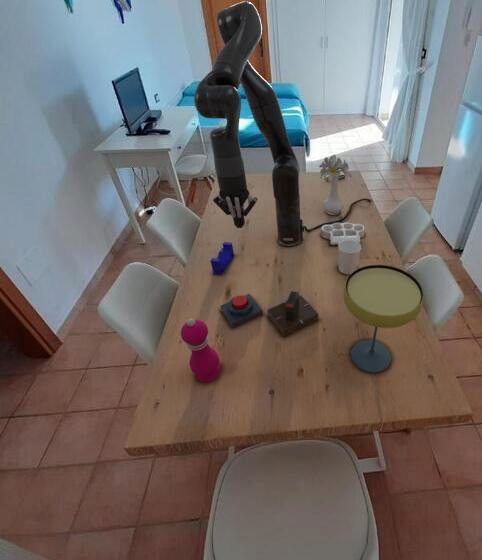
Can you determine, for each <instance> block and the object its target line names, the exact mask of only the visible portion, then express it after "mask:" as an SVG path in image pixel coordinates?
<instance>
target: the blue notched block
mask: <svg viewBox="0 0 482 560" xmlns="http://www.w3.org/2000/svg"><path fill="white" fill-rule="evenodd" d="M234 257H235V252H234V246H233V242H230V241H224V242H223V243H222V247H221V248H220V250H219V251H218V255H217V257H216V258H215V257H211V259H210V265H211V269H212V273H213V275H219V276H222V275H223V274H224V272H225V270H226V269H227V267H228V266H229V265H230V263H231V262H232V260H233V259H234Z"/></svg>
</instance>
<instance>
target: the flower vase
mask: <svg viewBox="0 0 482 560" xmlns="http://www.w3.org/2000/svg"><path fill="white" fill-rule="evenodd" d="M318 167H319V168H321V169H320V171H319V174H320V176H319V179H321V178H322V177H323V176H326V177H327V176H328V182H330V191H329V196H328V197H327V198H326V199H325V200H324V202H323V204H322V207H323V209H324V211H325V212H326V214H327V215H330V216H337V215H339V214H340V212H341V211H342V210H343V209H344V202H343V201H342V199H341V198H340V197H339V191H338V189H339V185H338V184H339V178H340V175H341V172H342V173H343V174H344V175H345V176H346V177H349V178H350V177H351V174H350V172H349V170H350V167H349V163H347V161H346V159H344V160H342V159H341V158H340V157H337V155H336V154H333V155H331V156H330V157H329V158H328V157H327V156H326V157H324V160H323V161H321V164H320V165H319V166H318Z"/></svg>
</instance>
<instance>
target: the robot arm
mask: <svg viewBox="0 0 482 560" xmlns="http://www.w3.org/2000/svg"><path fill="white" fill-rule="evenodd" d="M261 21H262V20H261V17H260V14H259V12H258V10H257V8H256V7H255V5H254V4H253V3H251V2H250V1H240V2H238V3H236V4H232V5H231V6H228V7H226V8H224V9H221V10H220V11H218V12H217V14H216V25H217V29H218V32H219V35H220V37H221V40H222V42H223V45H224V46H223V47H221V49H220V50H219V52H218V53H217V54H216V57H215V59H214V61H213V65H212V67H211V70H210V71H209V72H208V73H207V74H206V76H204V77H203V78H202V79H201V81H200V82H199V83H198V85H197V87H196V88H195V90H194V95H193V102H194V107H195V110H196V111H197V113H198V114H199V116H200V117H203V118H205V119H209V120H210V119H213V120H215V119H216V120H218V119H219V120H220V119H221V120H226V124H225V125H224V126H220V127H217V128H214V129H212V130H211V131H210V133H209V140H210V144H211V149H212V155H213V162H214V163H213V164H214V171H215V174H216V179H217V184H218V188H219V191H218V194H217V195H216V196H215V197H213V199H212V201H213V202H214V204H215V205H216V206H217V207H218V208H219V209H220V210H221V211H222V212H223V213H224V214H225V215H227V216H231V217H232V219H233V220H232V221H233V224H234V227H236V228H237V229H242V228H243V227H244V226H245V224H246V221H245V217H247V216H248V214H249V213H250V212H251V211H252V209H253V208H254V207H255V205H256V203H257V202H258V197H256V196H254V197H253V196H252V195H250V191H249V190H248V185H247V177H246V171H245V170H246V169H245V163H244V159H243V155H242V151H241V145H240V133H239V132H240V131H239V130H240V119H241V118H240V117H241V110H242V97H241V94H240V92H239V91H238V90H239V88H240V84H241V87H242V90H243V93H244V95H245V98H246V101H247V105H248V107H249V110H250V113H251V115H252V118H253V121H254V123H255V125H256V127H257V129H258V130H259V132H260V134H261V136H262V137H263V138H264V140H265V141H266V143H267V145H268V147H269V150H270V153H271V157H272V160H273V168H272V172H271V180H272V182H271V183H272V192H273V198H274V202H275V203H274V205H275V218H276V229H277V242H278V244H279V245H281V246H283V247H294V246H298V245H299V244H300V243H301V241H303V240H304V237H303V236H304V235H303V233H304V232H305V231H306V232H307V233H308V232H309V233H310V232H312V231H313V230H317V229H318V228H319V229H320V227H321V228H322V226H324V225H331V224H333V223H341V222H342V221H344V220H345V219H347V217H348V216H349V214H350V213H351V211H352V207H353V206H354V205H356V204H357V203H360V202H363V201H367V202H369V203H370V202H371V201H372V200H371V199H369V198H360V199H358V200H355V201H354V202H352V203H350V205H349V210H348V211H347V212H346V214H345V215H344V216H343V217H342V218H340V219H338V220H334V221H328V222H324V223H321V224H318V225H316V226H315V227H313V228H311V229H308V227H307V226H305V225H303V219H302V218H301V196H300V182H299V181H300V180H299V179H300V172H301V171H300V170H301V169H300V168H301V167H300V163H299V160H298V159H297V156H296V154H295V152H294V149H293V146H292V144H291V142H290V139H289V136H288V132H287V127H286V123H285V119H284V116H283V112H282V109H281V106H280V103H279V102H280V101H279V99H278V95H277V93H276V91H275V89H274V88H273V87H272V86H271V84H270V83H268V81H267V80H265V78H263V77H262V76H261V75H260V74H259V73H258V72H257V71H256V69H255V68H254V67H253V66H252V65H251V63H250V61H249V59H250V58H251V55H252V53H253V52H254V50H255V48H256V47H257V45H258V43H259V42H260V40H261V38H262V31H263V27H262V22H261ZM246 201H247V204H248V205H247V207H246V208H245V209H244V207H245V203H246Z"/></svg>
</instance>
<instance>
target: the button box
mask: <svg viewBox="0 0 482 560" xmlns="http://www.w3.org/2000/svg"><path fill="white" fill-rule="evenodd" d="M240 296H245V297H246V298H247V302H248V305H247V306H246V307H245V308H243V309H235V308H234V307H233V303H232V300H233V299H234V298H235V297H236V296H233V297H232V298H231V299H230V300H229V301H228V302H226V303H223V304H220V306H219V307H220V310H221V312H222V314H223V315H224V317H225V318H226V320H227V322H228V323H229V325H230V326H231V328H232V329H234V328H235V329H236V328H237V327H239V326H242V325H243V324H246V323H249V322H250V321H253V320H254V319H257V318H259V317H261V316H263V315H264V313H263V309H262V308H261V306H260V305H259V304H258V302H257V301H256V299H254V298H253V296H252V295H251V293H247V294H243V295H240Z"/></svg>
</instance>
